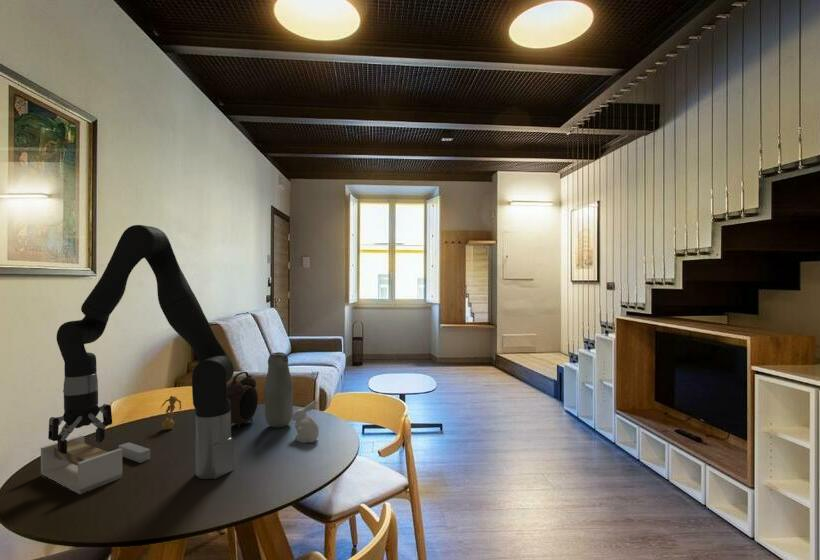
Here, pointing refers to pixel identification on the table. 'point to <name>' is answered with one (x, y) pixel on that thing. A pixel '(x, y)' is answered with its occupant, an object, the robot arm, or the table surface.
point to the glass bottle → (278, 391)
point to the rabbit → (305, 424)
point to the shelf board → (78, 452)
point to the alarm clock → (242, 399)
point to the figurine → (168, 422)
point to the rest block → (135, 452)
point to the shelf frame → (81, 469)
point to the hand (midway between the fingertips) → (82, 447)
